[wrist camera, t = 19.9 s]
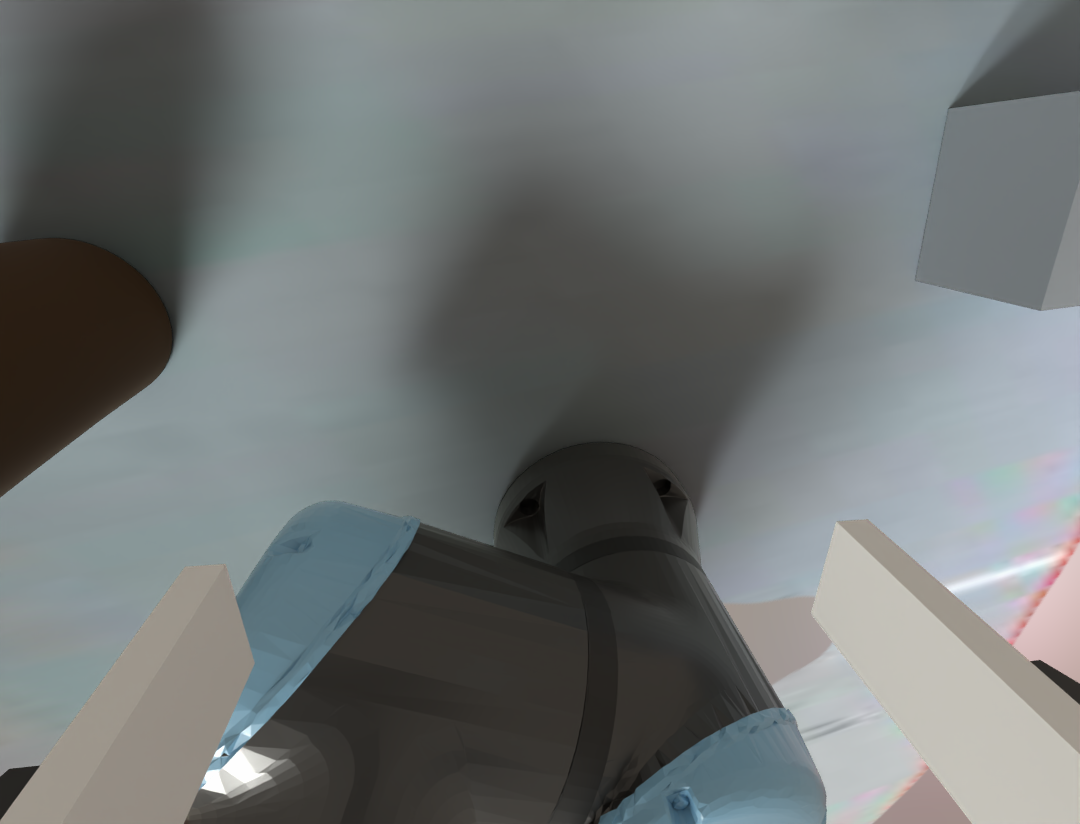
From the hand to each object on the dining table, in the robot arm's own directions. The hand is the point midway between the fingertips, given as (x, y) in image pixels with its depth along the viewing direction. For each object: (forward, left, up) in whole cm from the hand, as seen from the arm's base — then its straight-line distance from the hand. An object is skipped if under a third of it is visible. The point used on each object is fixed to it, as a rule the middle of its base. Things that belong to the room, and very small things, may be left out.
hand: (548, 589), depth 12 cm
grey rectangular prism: (+4, -33, -24) cm, 41 cm away
